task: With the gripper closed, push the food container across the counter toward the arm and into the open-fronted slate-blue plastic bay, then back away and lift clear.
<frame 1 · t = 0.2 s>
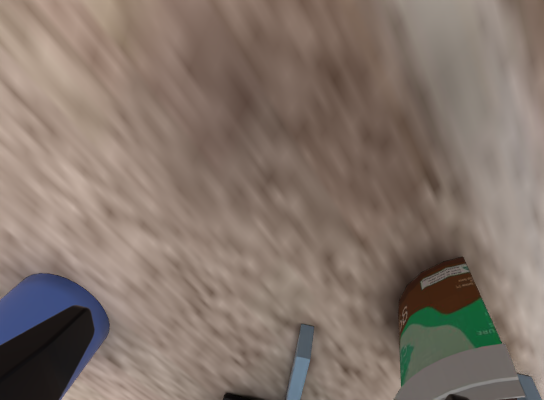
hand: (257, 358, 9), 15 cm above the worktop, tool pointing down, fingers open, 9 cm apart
water bottle: (65, 310, 34), on the worktop
slate-blue bay: (399, 377, 29), on the worktop
food container: (426, 314, 26), on the worktop
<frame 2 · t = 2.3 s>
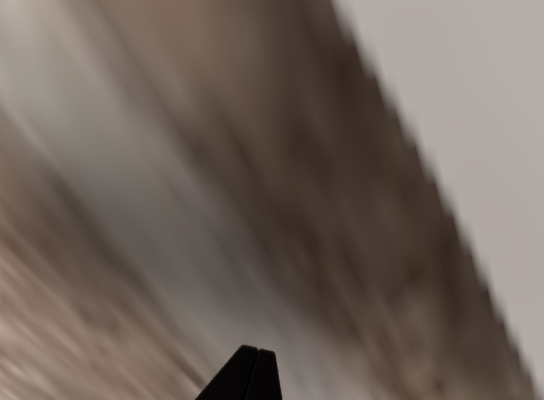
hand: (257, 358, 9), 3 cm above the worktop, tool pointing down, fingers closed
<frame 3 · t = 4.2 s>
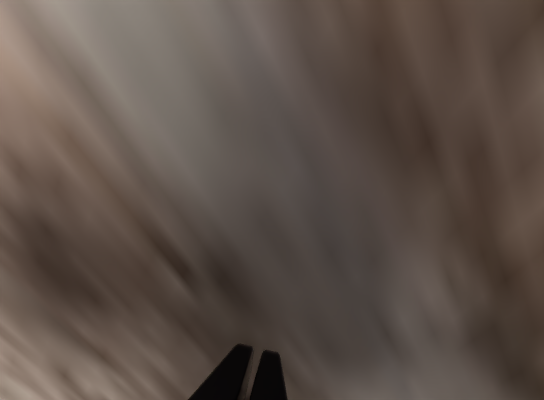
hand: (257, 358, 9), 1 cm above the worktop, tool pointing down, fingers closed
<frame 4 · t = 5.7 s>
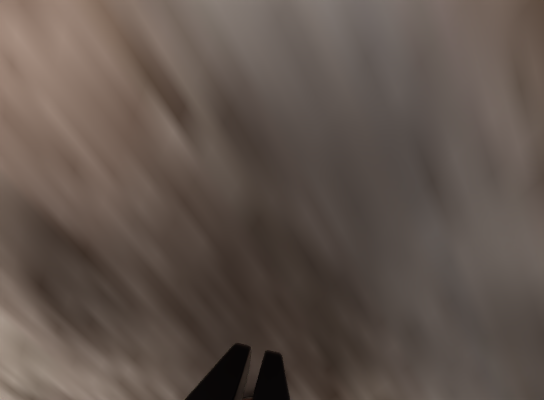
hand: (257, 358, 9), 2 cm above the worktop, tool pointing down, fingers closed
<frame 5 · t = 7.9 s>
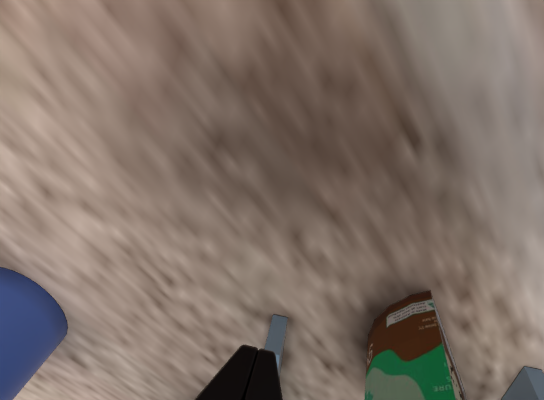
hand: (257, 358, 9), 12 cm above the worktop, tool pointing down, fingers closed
water bottle: (19, 306, 31), on the worktop
slate-blue bay: (388, 373, 26), on the worktop
food container: (399, 347, 24), on the worktop
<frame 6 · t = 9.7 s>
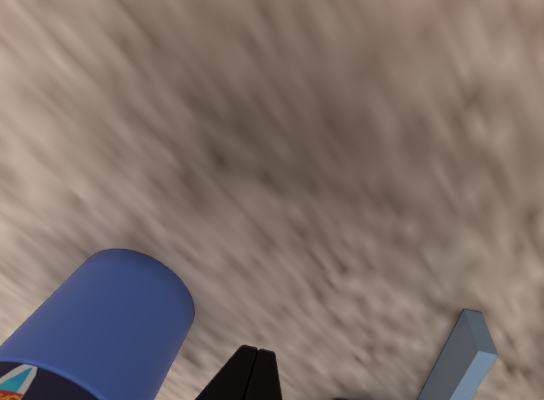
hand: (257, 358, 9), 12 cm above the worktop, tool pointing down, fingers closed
water bottle: (138, 296, 27), on the worktop
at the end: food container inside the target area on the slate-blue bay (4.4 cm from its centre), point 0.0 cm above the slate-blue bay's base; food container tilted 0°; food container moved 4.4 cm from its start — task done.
